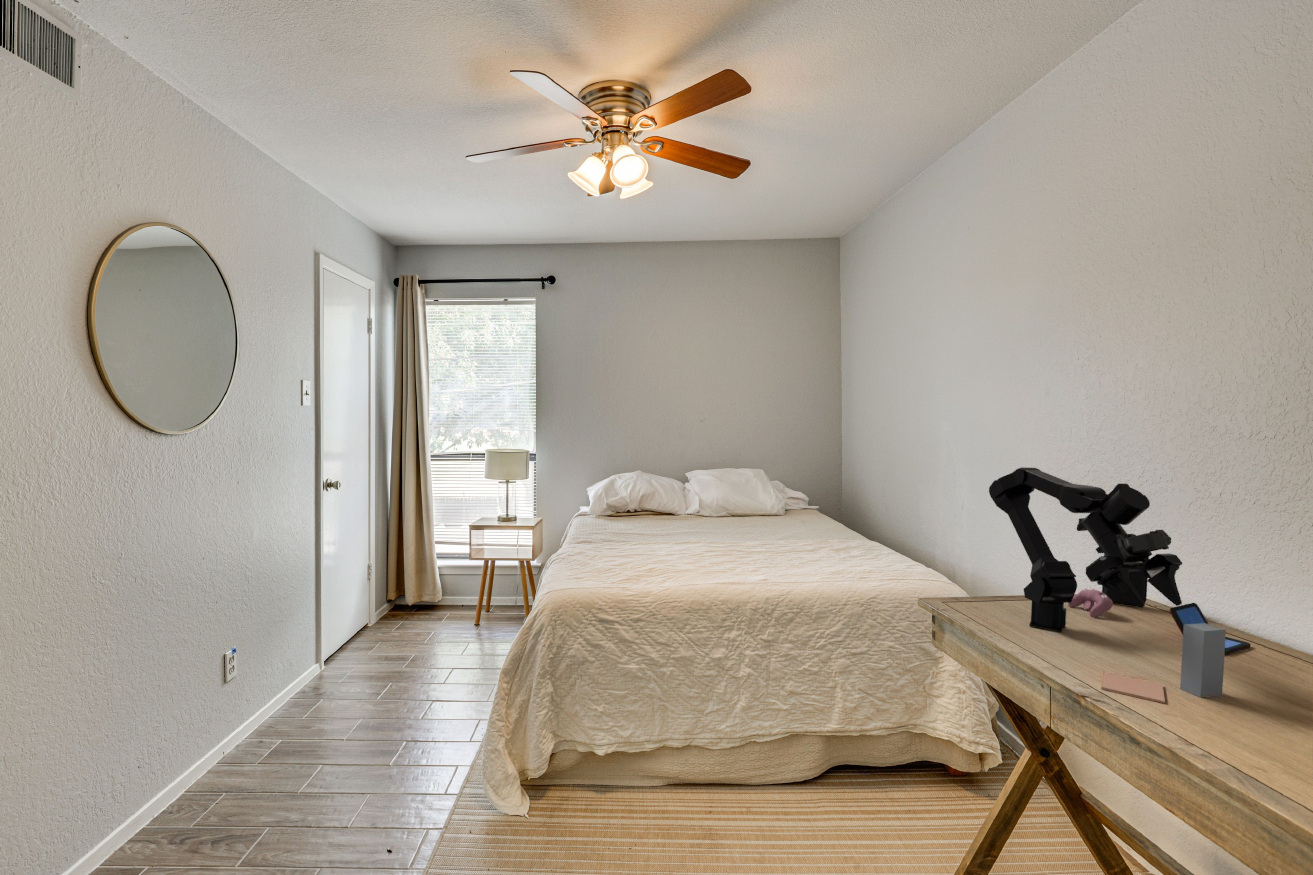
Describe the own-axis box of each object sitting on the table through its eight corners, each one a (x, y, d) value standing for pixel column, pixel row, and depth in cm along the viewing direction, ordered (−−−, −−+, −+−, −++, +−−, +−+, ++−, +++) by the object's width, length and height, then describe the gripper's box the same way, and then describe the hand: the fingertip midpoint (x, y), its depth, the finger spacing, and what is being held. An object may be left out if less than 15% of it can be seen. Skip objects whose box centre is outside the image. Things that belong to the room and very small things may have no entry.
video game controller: (1106, 624, 155) (1120, 600, 155) (1090, 616, 155) (1104, 591, 155) (1079, 612, 165) (1093, 589, 165) (1064, 604, 165) (1077, 581, 165)
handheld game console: (1226, 657, 132) (1228, 622, 131) (1165, 640, 141) (1167, 607, 141) (1253, 648, 137) (1255, 614, 137) (1193, 632, 147) (1194, 601, 147)
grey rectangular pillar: (1180, 688, 115) (1183, 624, 114) (1201, 686, 116) (1204, 622, 115) (1200, 697, 111) (1204, 630, 111) (1222, 695, 112) (1225, 629, 112)
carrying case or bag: (1148, 606, 166) (1151, 551, 166) (1152, 609, 164) (1154, 554, 163) (1100, 600, 171) (1103, 547, 171) (1102, 603, 168) (1105, 549, 168)
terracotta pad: (1101, 688, 114) (1101, 686, 114) (1102, 673, 121) (1102, 671, 121) (1164, 703, 108) (1164, 701, 108) (1162, 686, 116) (1162, 684, 116)
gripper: (1102, 516, 123) (1155, 587, 113) (1175, 514, 128) (1232, 583, 117) (1065, 546, 131) (1111, 615, 121) (1135, 544, 136) (1185, 610, 125)
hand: (1161, 605), depth 121 cm, fingers open, 9 cm apart
